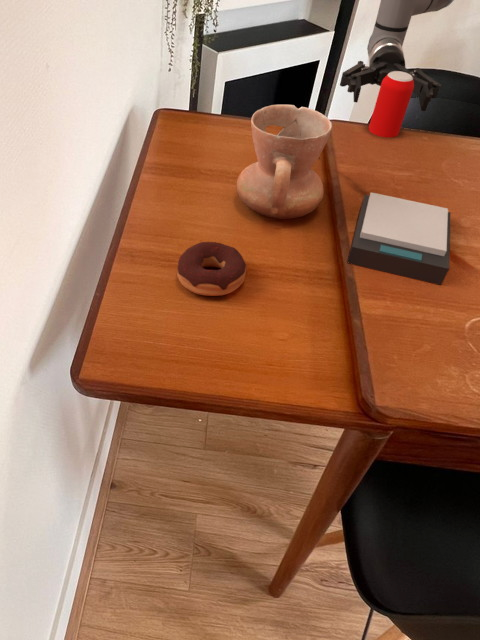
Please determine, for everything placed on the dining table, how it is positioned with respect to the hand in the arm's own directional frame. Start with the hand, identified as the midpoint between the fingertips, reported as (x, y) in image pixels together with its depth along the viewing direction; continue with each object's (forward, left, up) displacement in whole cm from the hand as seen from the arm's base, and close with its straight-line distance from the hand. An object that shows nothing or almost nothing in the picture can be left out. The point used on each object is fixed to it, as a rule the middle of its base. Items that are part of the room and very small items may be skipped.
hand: (391, 99), depth 106 cm
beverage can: (-1, +1, -7) cm, 7 cm away
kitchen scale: (-32, +25, -7) cm, 41 cm away
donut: (-26, +57, -7) cm, 63 cm away
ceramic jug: (-14, +37, -7) cm, 40 cm away
